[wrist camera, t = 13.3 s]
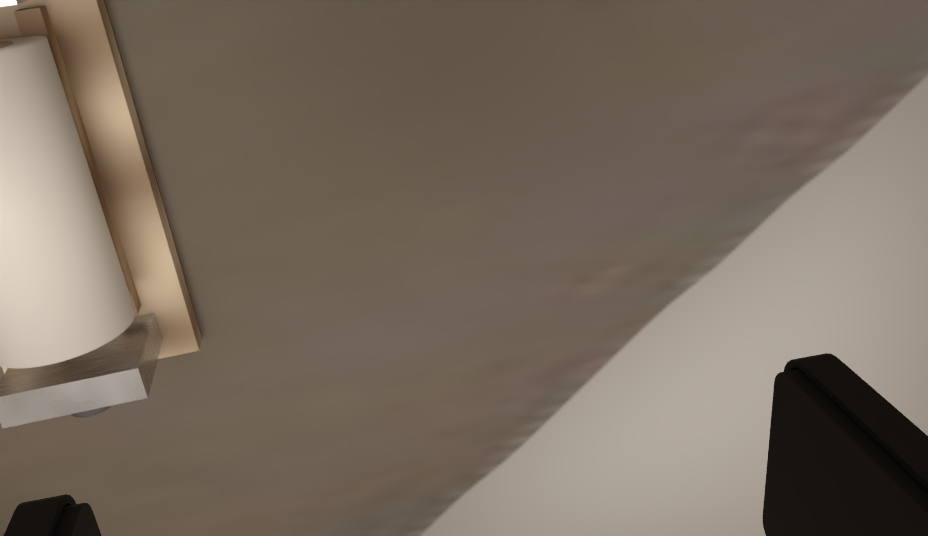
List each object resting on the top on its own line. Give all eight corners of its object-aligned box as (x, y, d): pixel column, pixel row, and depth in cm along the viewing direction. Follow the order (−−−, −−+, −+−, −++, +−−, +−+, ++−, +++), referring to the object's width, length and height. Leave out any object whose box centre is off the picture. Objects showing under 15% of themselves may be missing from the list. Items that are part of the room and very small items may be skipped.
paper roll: (-94, 51, 34) (-163, 78, 28) (61, 28, 35) (23, 50, 29) (10, 316, 39) (-31, 382, 33) (143, 290, 40) (124, 350, 34)
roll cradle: (-151, -50, 34) (-248, -40, 28) (80, -81, 35) (37, -78, 29) (19, 373, 42) (-26, 455, 36) (201, 336, 43) (188, 409, 37)
